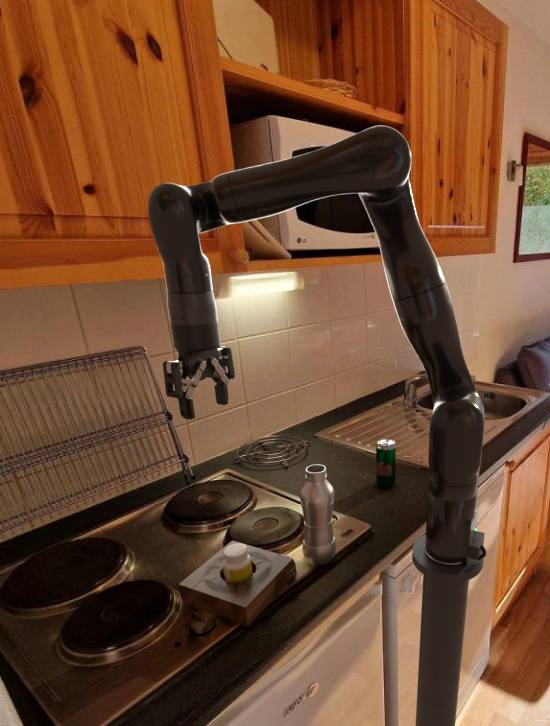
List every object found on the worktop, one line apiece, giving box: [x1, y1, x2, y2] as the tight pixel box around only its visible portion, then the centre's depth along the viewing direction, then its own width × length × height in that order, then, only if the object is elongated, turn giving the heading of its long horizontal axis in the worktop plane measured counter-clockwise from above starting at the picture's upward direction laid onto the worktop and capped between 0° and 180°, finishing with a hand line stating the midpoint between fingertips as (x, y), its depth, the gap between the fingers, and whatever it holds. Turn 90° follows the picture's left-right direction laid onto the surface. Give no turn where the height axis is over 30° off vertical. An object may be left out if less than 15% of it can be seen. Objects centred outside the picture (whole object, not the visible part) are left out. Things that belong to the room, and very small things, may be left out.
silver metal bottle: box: [299, 463, 337, 566], centre depth 91 cm, size 6×7×20 cm
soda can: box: [375, 438, 397, 490], centre depth 121 cm, size 5×5×12 cm
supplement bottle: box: [223, 542, 253, 582], centre depth 85 cm, size 5×5×8 cm
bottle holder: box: [178, 540, 295, 627], centre depth 86 cm, size 14×14×4 cm
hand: (206, 411), depth 86 cm, fingers open, 8 cm apart
